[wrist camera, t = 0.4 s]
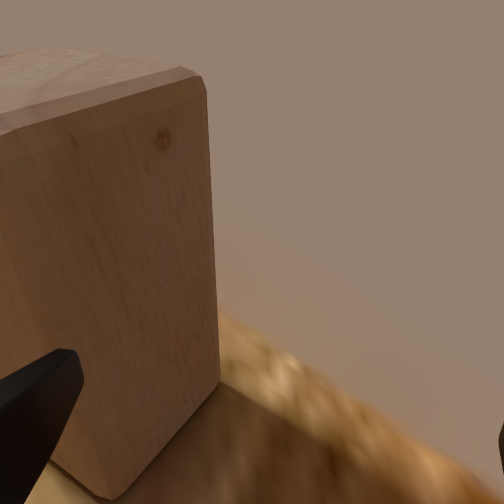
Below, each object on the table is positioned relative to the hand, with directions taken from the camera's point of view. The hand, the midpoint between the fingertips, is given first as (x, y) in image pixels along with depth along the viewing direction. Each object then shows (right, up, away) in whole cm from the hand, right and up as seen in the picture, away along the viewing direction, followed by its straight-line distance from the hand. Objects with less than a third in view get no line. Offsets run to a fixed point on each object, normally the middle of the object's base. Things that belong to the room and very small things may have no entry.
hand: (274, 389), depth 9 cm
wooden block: (-9, -7, +19) cm, 22 cm away
